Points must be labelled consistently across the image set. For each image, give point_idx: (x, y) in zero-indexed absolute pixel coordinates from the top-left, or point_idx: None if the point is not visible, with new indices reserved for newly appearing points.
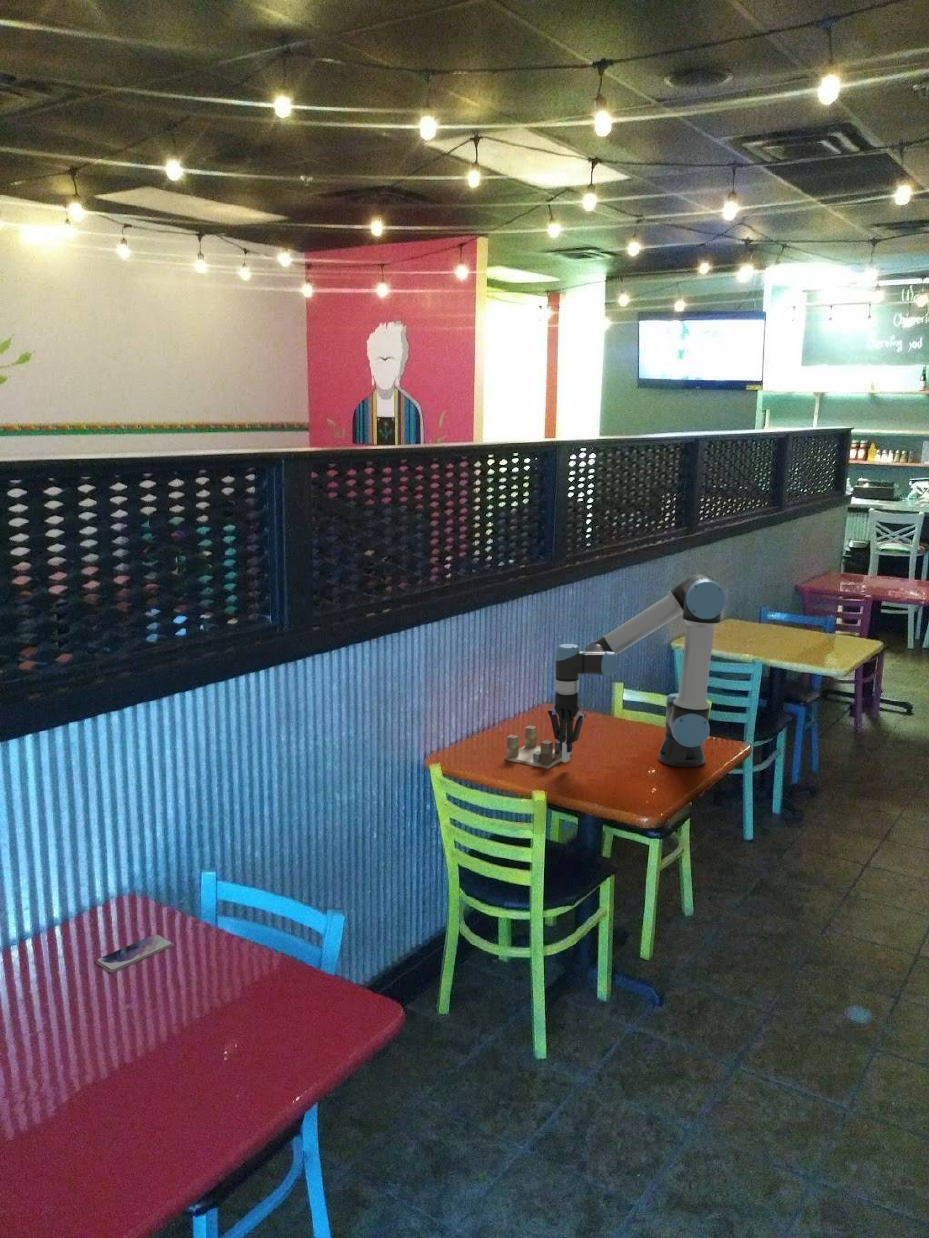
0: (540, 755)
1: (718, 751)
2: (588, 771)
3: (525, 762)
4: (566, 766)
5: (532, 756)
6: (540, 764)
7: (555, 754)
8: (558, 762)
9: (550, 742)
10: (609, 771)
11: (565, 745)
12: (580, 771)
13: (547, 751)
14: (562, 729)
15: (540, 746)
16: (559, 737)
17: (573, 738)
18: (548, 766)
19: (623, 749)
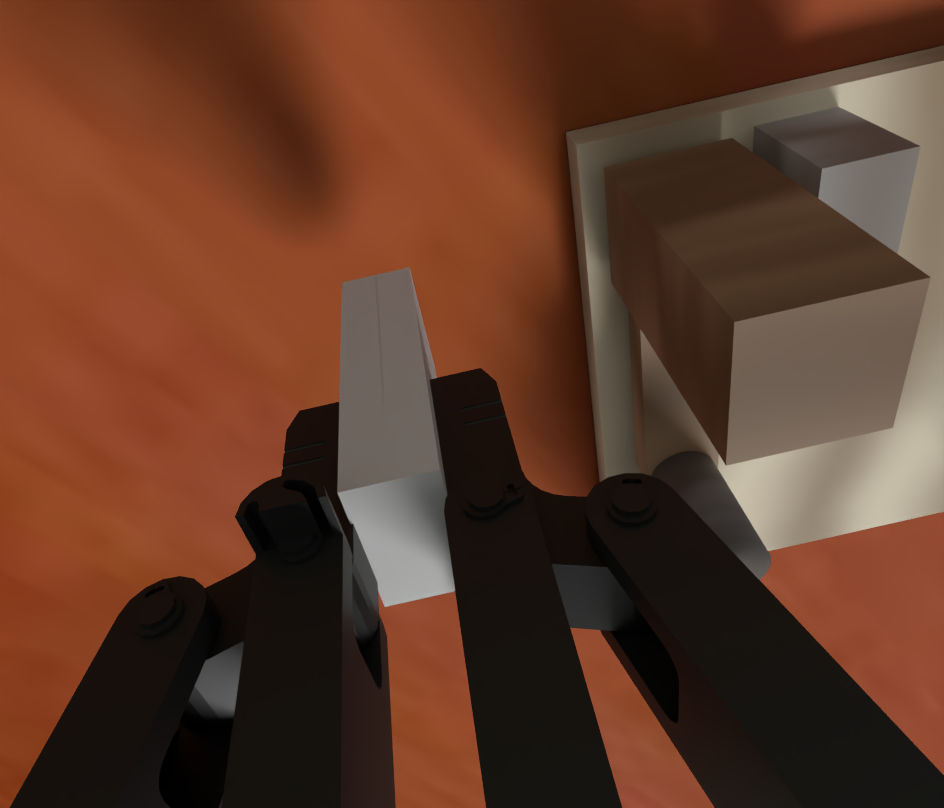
0: (780, 174)
1: None
2: (176, 408)
3: (940, 55)
4: (458, 354)
5: (918, 268)
6: (707, 113)
7: (673, 428)
8: (589, 368)
9: (742, 409)
10: (54, 539)
11: (353, 454)
12: (231, 350)
13: (690, 243)
14: (493, 806)
15: (875, 239)
16: (541, 542)
17: (128, 673)
18: (577, 141)
19: (395, 805)
